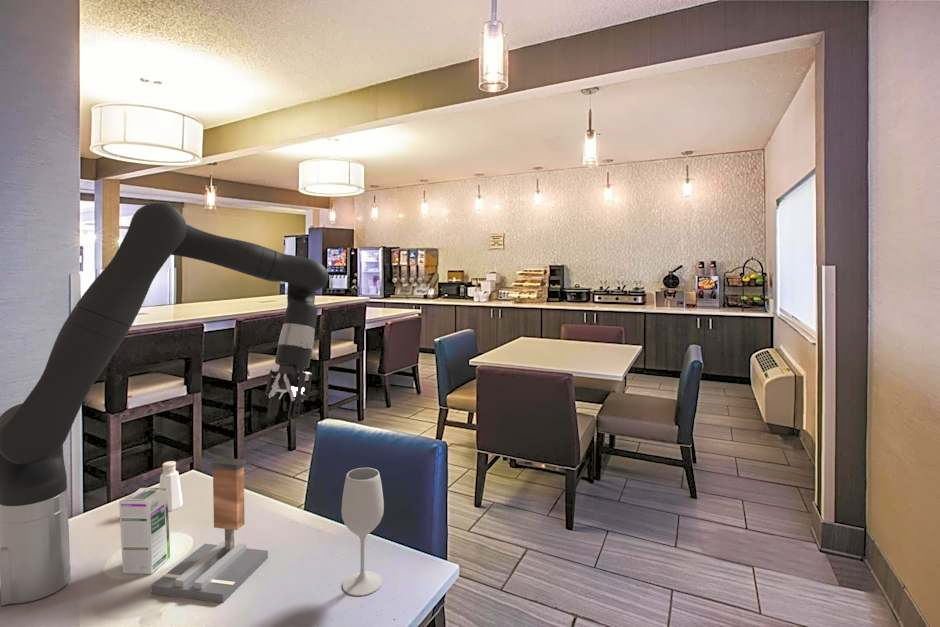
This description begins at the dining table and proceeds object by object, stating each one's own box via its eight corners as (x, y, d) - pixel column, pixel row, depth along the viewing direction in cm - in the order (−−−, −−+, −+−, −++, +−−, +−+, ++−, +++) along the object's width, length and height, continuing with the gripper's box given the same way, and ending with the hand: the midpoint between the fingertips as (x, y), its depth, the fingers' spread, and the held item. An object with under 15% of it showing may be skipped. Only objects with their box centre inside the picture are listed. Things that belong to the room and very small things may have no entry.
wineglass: (389, 575, 95) (390, 468, 93) (371, 600, 87) (372, 485, 86) (354, 568, 97) (354, 463, 95) (333, 592, 89) (333, 479, 88)
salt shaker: (180, 499, 124) (179, 457, 123) (185, 507, 120) (184, 463, 119) (155, 505, 121) (154, 461, 120) (158, 514, 116) (157, 468, 116)
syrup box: (151, 575, 93) (149, 500, 92) (120, 574, 93) (118, 499, 92) (170, 557, 99) (169, 487, 98) (141, 556, 99) (139, 486, 98)
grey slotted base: (204, 550, 102) (204, 537, 101) (267, 557, 100) (267, 544, 99) (151, 593, 88) (150, 578, 88) (223, 602, 86) (222, 587, 86)
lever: (221, 545, 100) (220, 457, 99) (246, 548, 99) (245, 459, 98) (212, 553, 98) (211, 462, 96) (237, 556, 97) (236, 464, 95)
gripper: (264, 343, 115) (250, 413, 112) (298, 342, 106) (284, 418, 103) (293, 348, 121) (280, 415, 117) (327, 348, 112) (314, 421, 109)
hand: (282, 417), depth 110 cm, fingers open, 8 cm apart
